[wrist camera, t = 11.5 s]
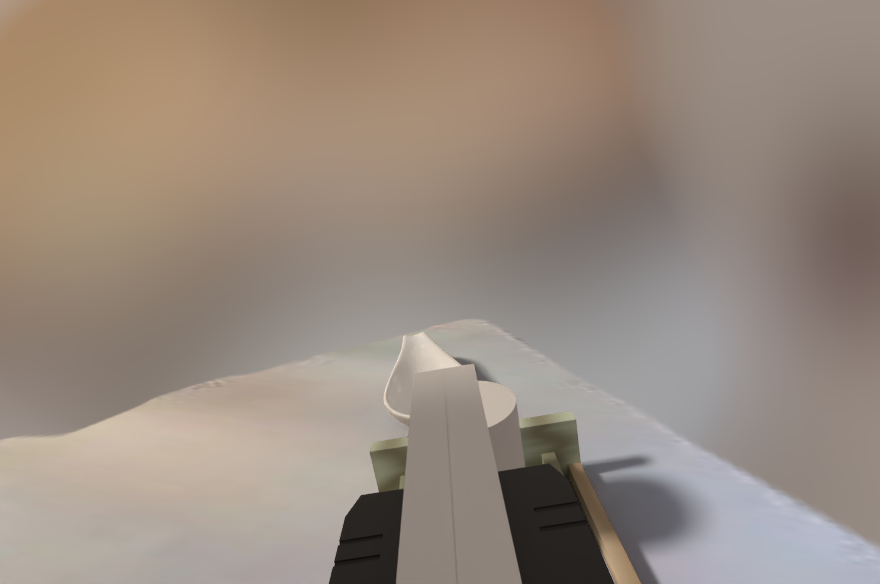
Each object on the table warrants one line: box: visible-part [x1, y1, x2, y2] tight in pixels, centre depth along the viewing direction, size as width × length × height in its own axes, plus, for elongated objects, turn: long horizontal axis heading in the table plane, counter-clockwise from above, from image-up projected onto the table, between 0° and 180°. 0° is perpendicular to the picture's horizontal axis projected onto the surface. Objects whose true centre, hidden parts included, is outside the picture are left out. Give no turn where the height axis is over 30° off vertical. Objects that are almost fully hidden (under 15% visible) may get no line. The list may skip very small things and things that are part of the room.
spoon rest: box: [384, 332, 462, 425], centre depth 65 cm, size 24×12×7 cm, turn 11°
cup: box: [478, 381, 525, 472], centre depth 38 cm, size 8×8×12 cm
